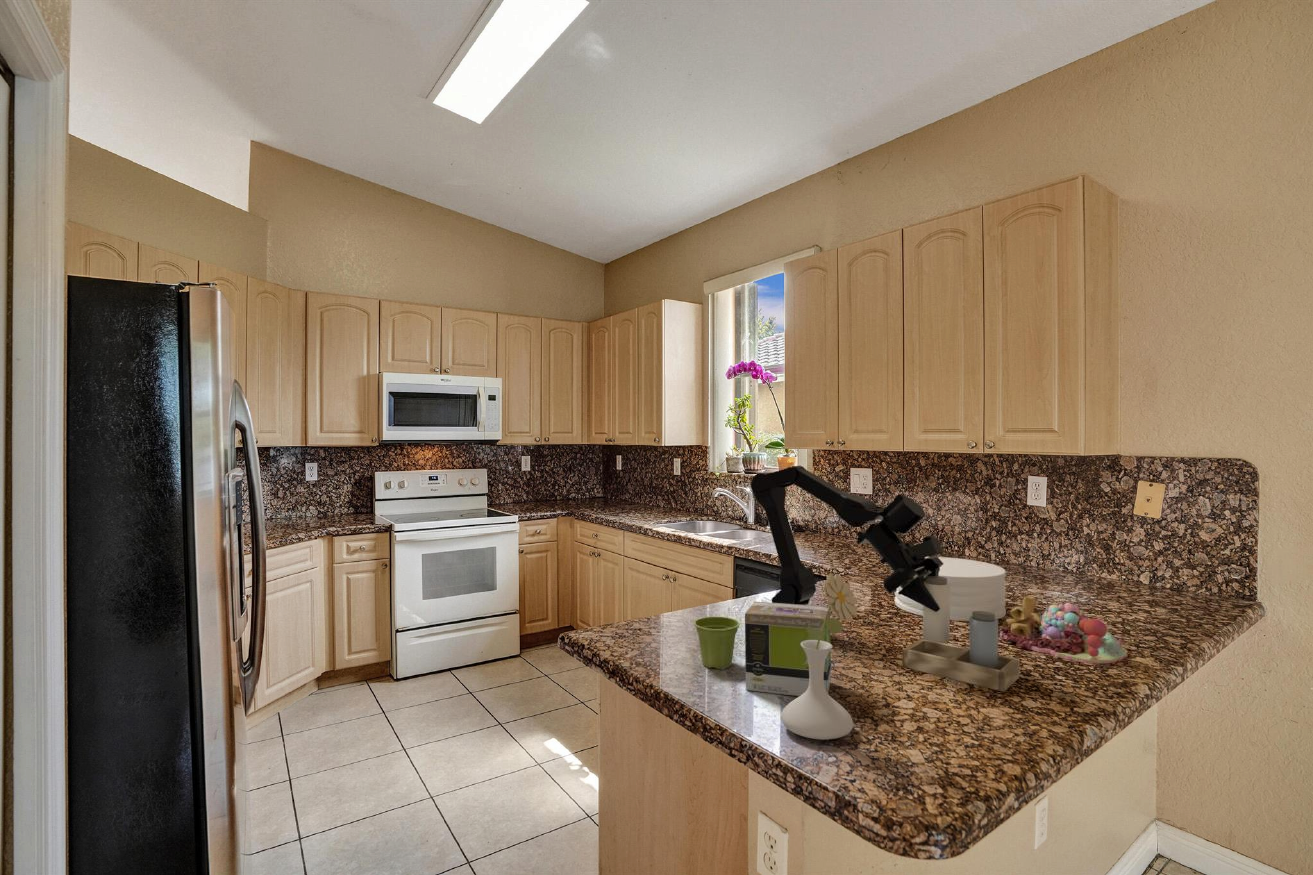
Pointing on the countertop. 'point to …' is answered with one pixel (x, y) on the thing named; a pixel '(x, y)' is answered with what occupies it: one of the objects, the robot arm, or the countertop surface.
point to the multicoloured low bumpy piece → (1062, 633)
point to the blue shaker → (983, 639)
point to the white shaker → (937, 622)
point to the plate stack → (967, 589)
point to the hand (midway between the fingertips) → (943, 607)
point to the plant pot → (716, 640)
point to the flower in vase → (822, 674)
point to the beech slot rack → (959, 665)
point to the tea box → (782, 646)
